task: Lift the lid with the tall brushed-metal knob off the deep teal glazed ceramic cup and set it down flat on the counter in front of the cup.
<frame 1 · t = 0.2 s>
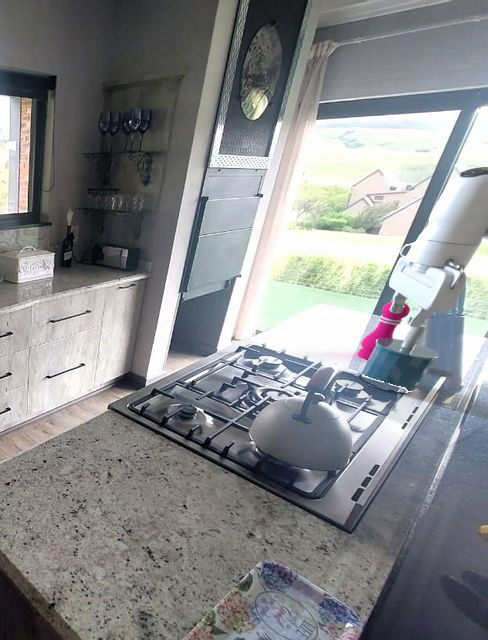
hand: (403, 318, 89), 24 cm above the counter, tool pointing down, fingers open, 8 cm apart
cup: (385, 382, 114), on the counter
pepper mill: (369, 357, 129), on the counter
lid: (405, 349, 109), point 10 cm above the counter, touching cup
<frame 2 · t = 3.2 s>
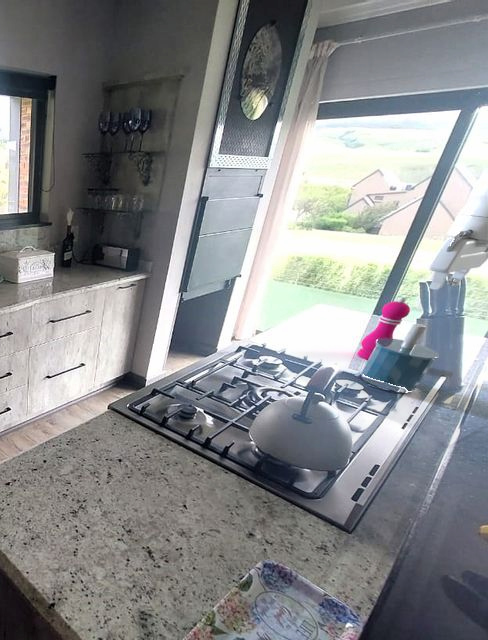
hand: (443, 287, 101), 28 cm above the counter, tool pointing down, fingers open, 8 cm apart
nothing on the counter moved.
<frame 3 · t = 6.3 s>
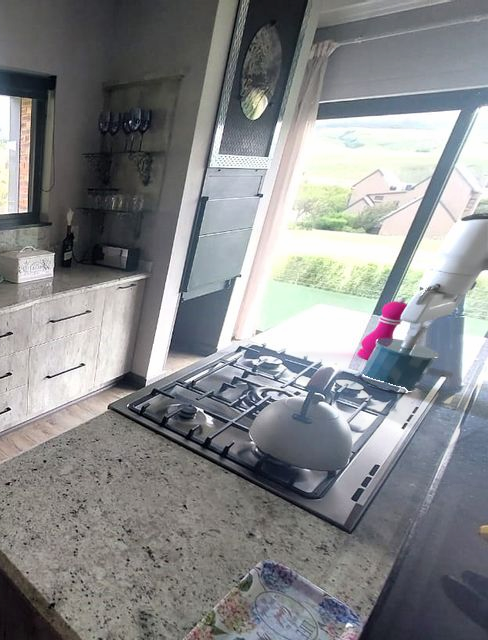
hand: (415, 333, 107), 15 cm above the counter, tool pointing down, fingers closed on lid, 2 cm apart
lid: (405, 349, 109), point 11 cm above the counter, touching cup, gripper
everything else where it was.
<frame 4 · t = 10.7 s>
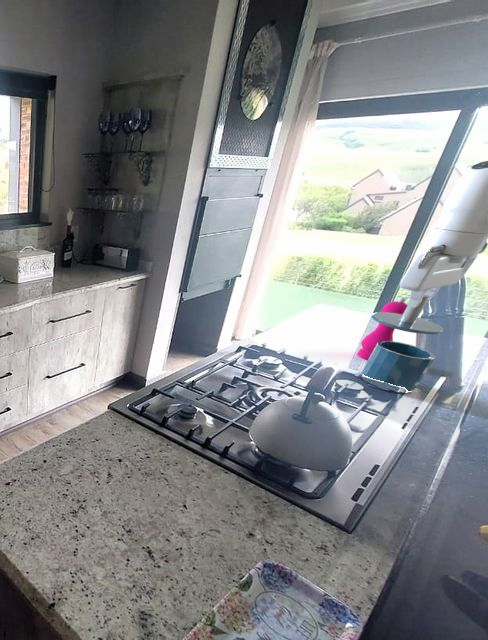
hand: (416, 305, 94), 26 cm above the counter, tool pointing down, fingers closed on lid, 2 cm apart
lid: (405, 323, 96), point 21 cm above the counter, touching gripper
everything else where it was.
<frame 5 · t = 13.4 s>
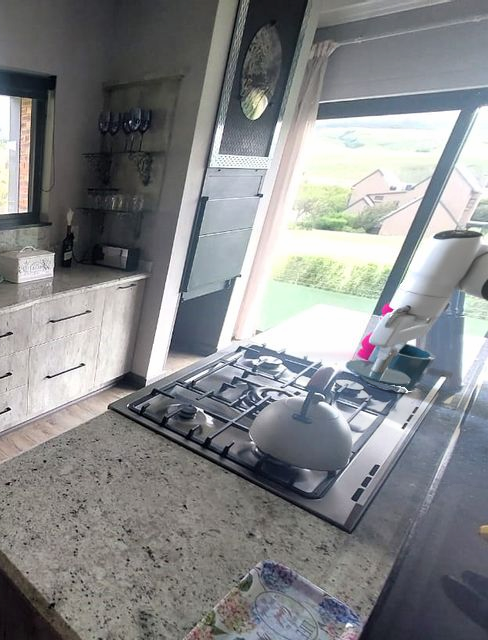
hand: (386, 357, 100), 12 cm above the counter, tool pointing down, fingers closed on lid, 2 cm apart
lid: (376, 373, 102), point 8 cm above the counter, touching gripper
everything else where it was.
when the fingers open (5 cm above the counter, at t = 15.2 s): lid stays where it is, point 1 cm above the counter.
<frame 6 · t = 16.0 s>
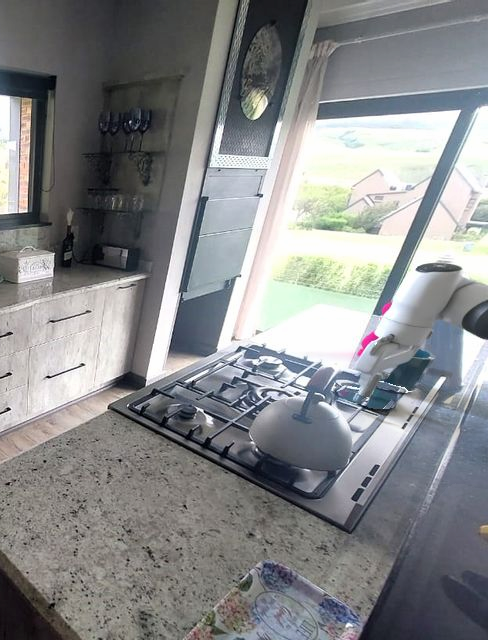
hand: (372, 381, 103), 5 cm above the counter, tool pointing down, fingers open, 8 cm apart
lid: (362, 396, 106), point 1 cm above the counter
everything else where it was.
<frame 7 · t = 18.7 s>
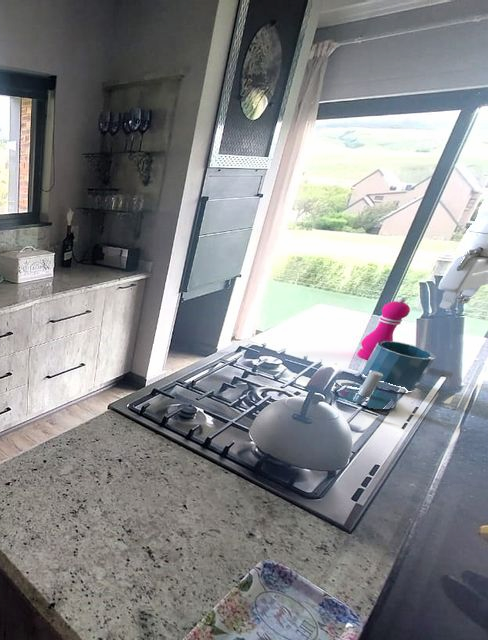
hand: (453, 305, 97), 25 cm above the counter, tool pointing down, fingers open, 8 cm apart
nothing on the counter moved.
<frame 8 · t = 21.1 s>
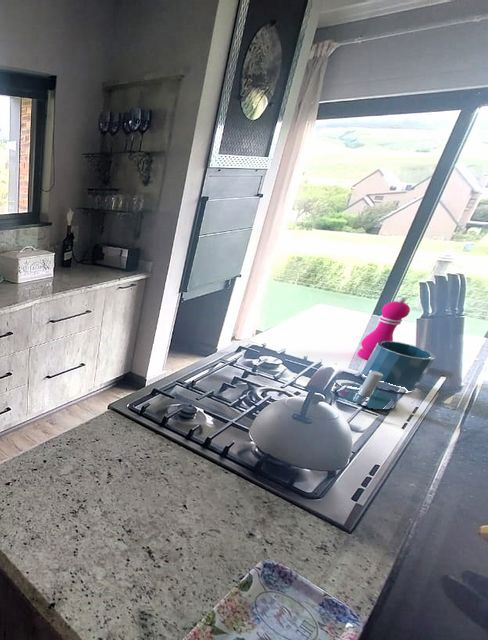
nothing on the counter moved.
at the end: lid inside the target area (0.1 cm from its centre), point 0.6 cm above the counter; lid tilted 0°; the gripper is holding nothing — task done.
